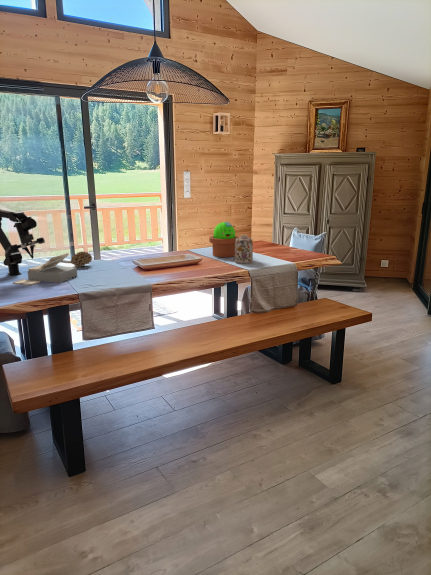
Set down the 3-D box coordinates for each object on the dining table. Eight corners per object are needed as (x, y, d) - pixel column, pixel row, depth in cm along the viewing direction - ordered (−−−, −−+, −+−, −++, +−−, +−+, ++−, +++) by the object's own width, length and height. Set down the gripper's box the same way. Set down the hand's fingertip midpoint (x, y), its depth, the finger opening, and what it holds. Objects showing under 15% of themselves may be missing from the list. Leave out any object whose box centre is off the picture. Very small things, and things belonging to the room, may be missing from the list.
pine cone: (92, 264, 280) (90, 249, 277) (93, 267, 271) (92, 252, 268) (57, 266, 272) (55, 251, 269) (57, 270, 263) (55, 254, 261)
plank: (13, 284, 232) (12, 282, 232) (22, 281, 239) (22, 279, 238) (31, 286, 228) (31, 284, 228) (40, 283, 235) (40, 281, 234)
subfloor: (28, 279, 240) (27, 268, 238) (47, 273, 255) (46, 263, 253) (59, 282, 233) (58, 271, 232) (77, 275, 248) (76, 265, 246)
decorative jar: (252, 263, 279) (253, 236, 274) (235, 263, 280) (235, 236, 275) (251, 259, 291) (252, 234, 286) (234, 259, 291) (235, 234, 286)
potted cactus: (206, 253, 313) (205, 220, 306) (233, 251, 320) (233, 219, 313) (214, 259, 293) (214, 223, 286) (243, 257, 299) (244, 222, 293)
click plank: (39, 271, 237) (38, 269, 237) (55, 265, 250) (54, 264, 250) (53, 259, 232) (51, 257, 232) (69, 254, 245) (68, 253, 245)
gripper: (4, 235, 228) (14, 262, 230) (39, 226, 235) (48, 252, 236) (7, 237, 239) (16, 263, 240) (40, 229, 245) (49, 254, 247)
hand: (32, 258), depth 241 cm, fingers closed
